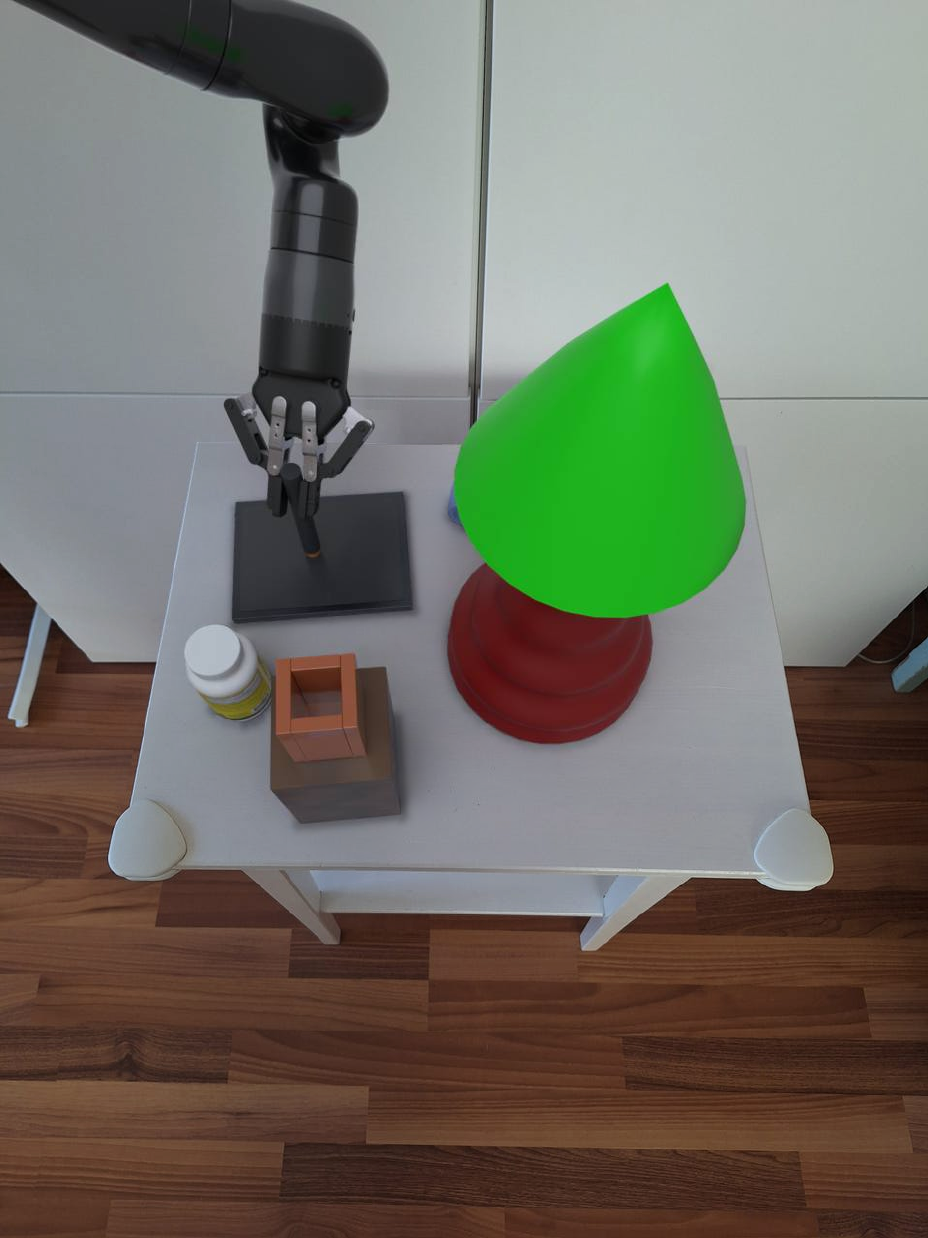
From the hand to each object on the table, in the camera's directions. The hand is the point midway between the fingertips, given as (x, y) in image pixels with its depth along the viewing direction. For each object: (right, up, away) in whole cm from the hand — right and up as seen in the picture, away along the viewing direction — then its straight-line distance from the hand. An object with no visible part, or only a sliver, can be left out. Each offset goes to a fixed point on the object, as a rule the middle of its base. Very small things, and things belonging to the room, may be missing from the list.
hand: (292, 516), depth 70 cm
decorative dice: (+16, +2, +14) cm, 22 cm away
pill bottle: (-6, -17, +4) cm, 18 cm away
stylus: (0, -2, +10) cm, 10 cm away
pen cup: (+5, -17, -11) cm, 22 cm away
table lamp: (+24, -13, +7) cm, 28 cm away
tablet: (+1, -3, +11) cm, 11 cm away
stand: (+5, -23, +1) cm, 24 cm away
